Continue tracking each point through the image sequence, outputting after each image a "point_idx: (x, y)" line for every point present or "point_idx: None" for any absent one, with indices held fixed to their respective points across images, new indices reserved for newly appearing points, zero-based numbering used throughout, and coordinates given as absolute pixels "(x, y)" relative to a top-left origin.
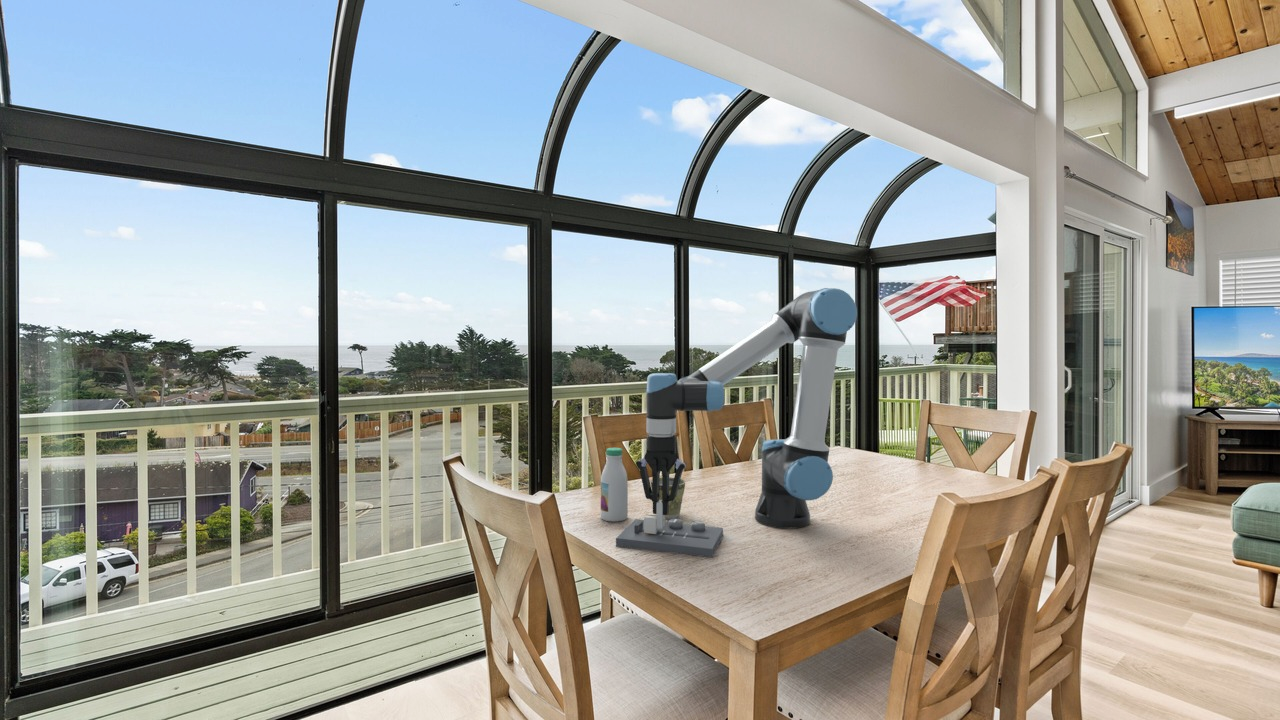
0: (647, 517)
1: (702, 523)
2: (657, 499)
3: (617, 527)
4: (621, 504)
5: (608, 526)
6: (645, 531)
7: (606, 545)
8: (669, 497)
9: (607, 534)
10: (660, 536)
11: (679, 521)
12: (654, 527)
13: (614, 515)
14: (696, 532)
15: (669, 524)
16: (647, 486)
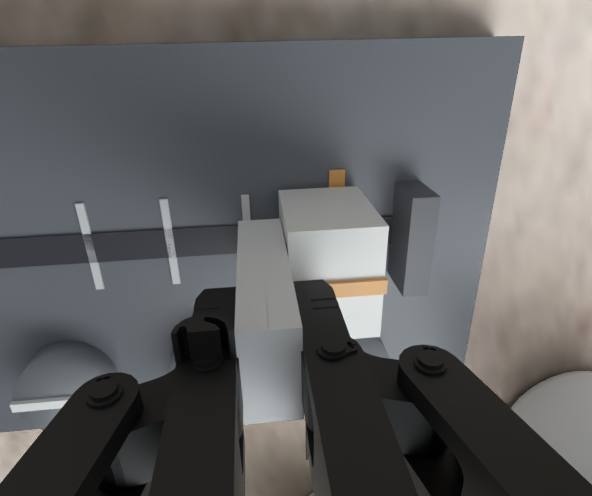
0: (360, 230)
1: (28, 401)
2: (304, 374)
3: (527, 320)
4: (576, 463)
5: (573, 316)
6: (350, 189)
7: (553, 29)
8: (131, 402)
9: (566, 210)
10: (239, 177)
11: None
12: (290, 205)
13: (573, 396)
14: (54, 322)
15: None
16: (504, 481)
